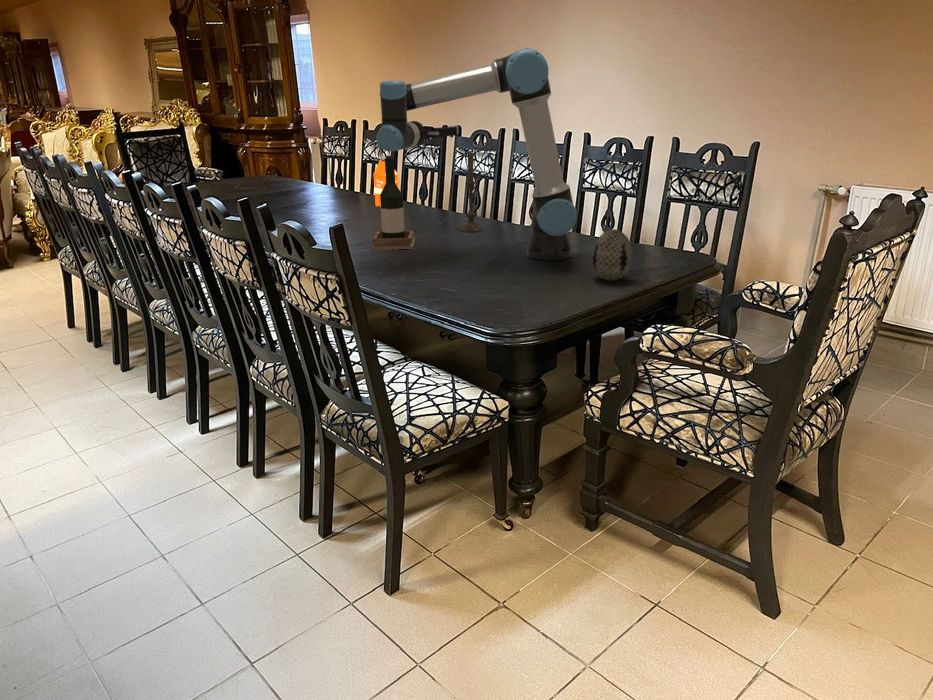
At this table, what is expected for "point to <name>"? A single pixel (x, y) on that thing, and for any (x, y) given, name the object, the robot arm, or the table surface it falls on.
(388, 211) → the wine bottle
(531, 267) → the table surface
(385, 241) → the wooden crate
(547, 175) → the robot arm
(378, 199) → the orange juice
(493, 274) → the table surface
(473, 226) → the candlestick holder
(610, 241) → the decorative egg
